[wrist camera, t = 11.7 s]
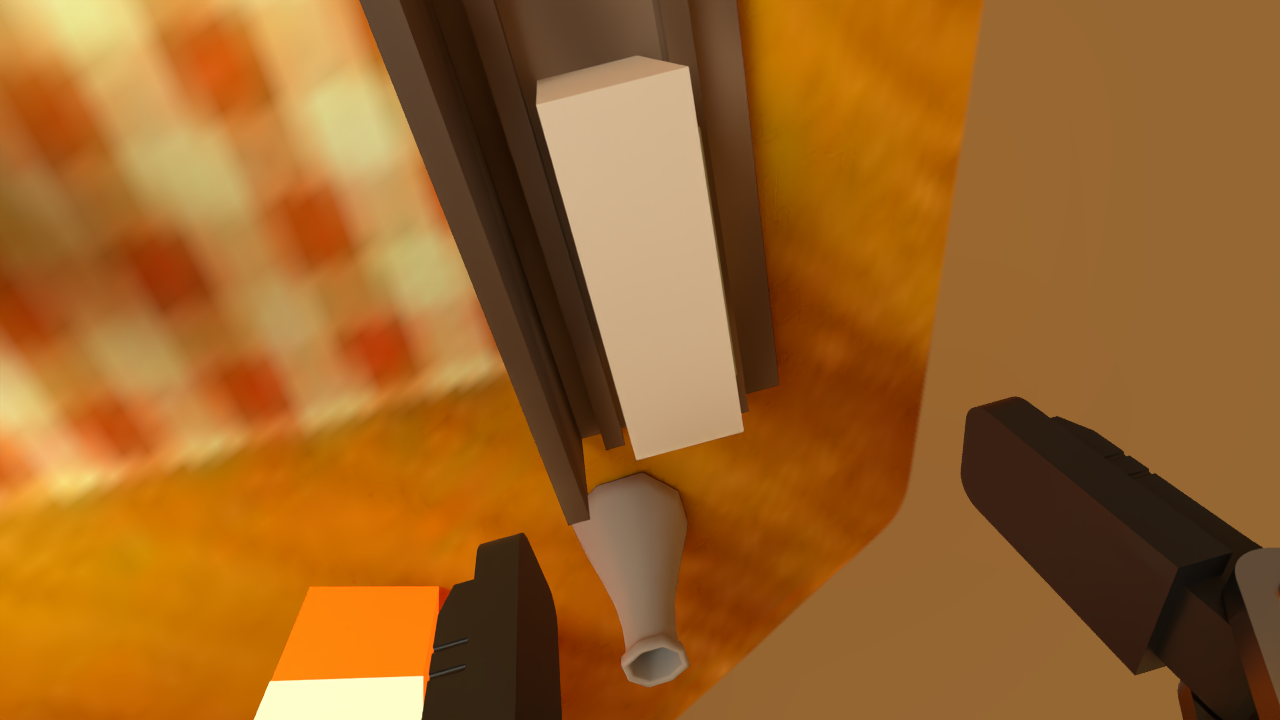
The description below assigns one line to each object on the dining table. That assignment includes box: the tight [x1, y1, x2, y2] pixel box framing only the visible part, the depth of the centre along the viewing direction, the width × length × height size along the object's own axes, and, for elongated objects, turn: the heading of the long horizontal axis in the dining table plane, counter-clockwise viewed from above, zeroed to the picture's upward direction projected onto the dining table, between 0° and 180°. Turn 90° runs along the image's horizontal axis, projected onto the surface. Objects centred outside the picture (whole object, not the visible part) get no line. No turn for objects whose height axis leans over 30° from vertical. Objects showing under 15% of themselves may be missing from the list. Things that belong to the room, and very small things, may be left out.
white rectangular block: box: [536, 55, 744, 460], centre depth 22 cm, size 12×4×9 cm, turn 12°
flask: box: [572, 472, 690, 688], centre depth 32 cm, size 7×7×10 cm
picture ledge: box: [360, 0, 779, 526], centre depth 24 cm, size 12×22×8 cm, turn 12°
